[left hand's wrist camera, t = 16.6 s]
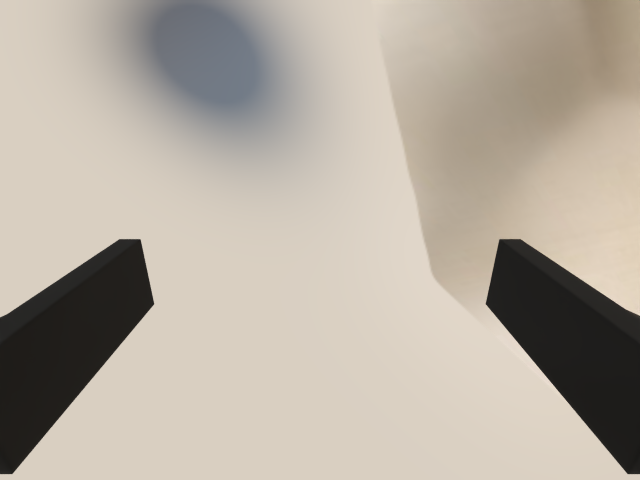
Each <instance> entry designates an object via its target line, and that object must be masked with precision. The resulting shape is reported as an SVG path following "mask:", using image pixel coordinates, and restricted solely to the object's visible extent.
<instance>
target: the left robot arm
mask: <svg viewBox="0 0 640 480" xmlns="http://www.w3.org/2000/svg"><path fill="white" fill-rule="evenodd" d="M153 305H154V301H153V296H152V291H151V287H150V282H149V277H148V273H147V268H146V263H145V258H144V254H143V249H142V244H141V240H140V239H119V240H118V241H116V242H115V243H113V244H112V245H110V246H109V247H107V248H106V249H104V250H103V251H101V252H100V253H98V254H97V255H95V256H94V257H92V258H91V259H89V260H88V261H86V262H85V263H83V264H82V265H80V266H79V267H77V268H76V269H74V270H73V271H71V272H70V273H68V274H67V275H65V276H64V277H62V278H61V279H59V280H58V281H56V282H55V283H53V284H52V285H50V286H49V287H47V288H46V289H44V290H43V291H41V292H40V293H38V294H37V295H35V296H34V297H32V298H31V299H29V300H28V301H26V302H25V303H23V304H22V305H20V306H19V307H17V308H16V309H14V310H13V311H11V312H10V313H8V314H7V315H5V316H2V317H0V474H13V473H14V471H15V470H16V469H17V468H18V467H19V465H20V464H21V463H22V462H23V461H24V459H25V458H26V457H27V456H28V455H29V453H30V452H31V451H32V450H33V449H34V447H35V446H36V445H37V444H38V443H39V441H40V440H41V439H42V438H43V437H44V435H45V434H46V433H47V432H48V431H49V429H50V428H51V427H52V426H53V425H54V423H55V422H56V421H57V420H58V419H59V417H60V416H61V415H62V414H63V413H64V411H65V410H66V409H67V408H68V407H69V405H70V404H71V403H72V402H73V401H74V400H75V398H76V397H77V396H78V395H79V394H80V392H81V391H82V390H83V389H84V388H85V386H86V385H87V384H88V383H89V382H90V380H91V379H92V378H93V377H94V376H95V374H96V373H97V372H98V371H99V370H100V368H101V367H102V366H103V365H104V364H105V362H106V361H107V360H108V359H109V358H110V356H111V355H112V354H113V353H114V352H115V350H116V349H117V348H118V347H119V346H120V344H121V343H122V342H123V341H124V340H125V338H126V337H127V336H128V335H129V334H130V332H131V331H132V330H133V329H134V328H135V326H136V325H137V324H138V323H139V322H140V320H141V319H142V318H143V317H144V316H145V314H146V313H147V312H148V311H149V310H150V308H151V307H152V306H153ZM486 305H487V306H488V307H489V308H490V310H491V311H492V312H493V313H494V314H495V316H496V317H497V318H498V319H499V320H500V322H501V323H502V324H503V325H504V326H505V328H506V329H507V330H508V331H509V332H510V334H511V335H512V336H513V337H514V338H515V340H516V341H517V342H518V343H519V344H520V346H521V347H522V348H523V349H524V350H525V352H526V353H527V354H528V355H529V356H530V358H531V359H532V360H533V361H534V362H535V364H536V365H537V366H538V367H539V368H540V370H541V371H542V372H543V373H544V374H545V376H546V377H547V378H548V379H549V380H550V382H551V383H552V384H553V385H554V386H555V388H556V389H557V390H558V391H559V392H560V394H561V395H562V396H563V397H564V398H565V400H566V401H567V402H568V403H569V404H570V405H571V407H572V408H573V409H574V410H575V411H576V413H577V414H578V415H579V416H580V417H581V419H582V420H583V421H584V422H585V423H586V425H587V426H588V427H589V428H590V429H591V431H592V432H593V433H594V434H595V435H596V437H597V438H598V439H599V440H600V441H601V443H602V444H603V445H604V446H605V447H606V449H607V450H608V451H609V452H610V453H611V455H612V456H613V457H614V458H615V459H616V461H617V462H618V463H619V464H620V465H621V467H622V468H623V469H624V470H625V471H626V473H627V474H640V316H639V315H637V314H634V313H632V312H630V311H628V310H626V309H624V308H623V307H621V306H620V305H618V304H617V303H615V302H614V301H612V300H611V299H609V298H608V297H606V296H605V295H603V294H602V293H600V292H599V291H597V290H596V289H594V288H593V287H591V286H590V285H588V284H587V283H585V282H584V281H582V280H581V279H579V278H578V277H576V276H575V275H573V274H572V273H570V272H569V271H567V270H566V269H564V268H563V267H561V266H560V265H558V264H557V263H555V262H554V261H552V260H551V259H549V258H548V257H546V256H545V255H543V254H542V253H540V252H539V251H537V250H536V249H534V248H533V247H531V246H530V245H528V244H527V243H525V242H524V241H522V240H521V239H499V244H498V249H497V253H496V258H495V263H494V268H493V272H492V277H491V282H490V287H489V291H488V296H487V301H486Z"/></svg>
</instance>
